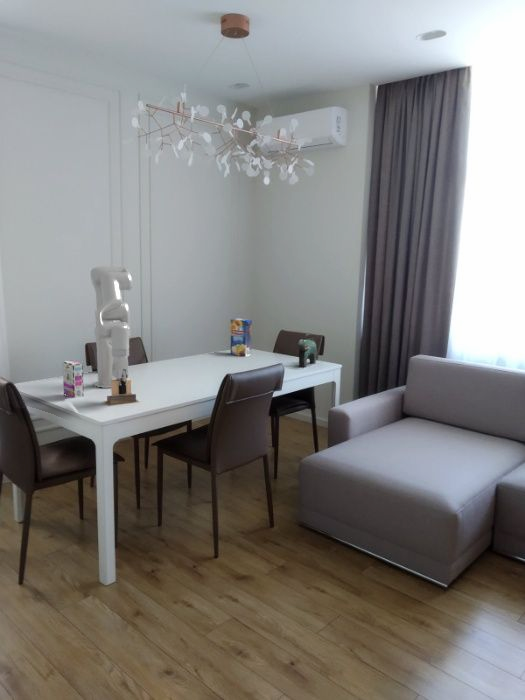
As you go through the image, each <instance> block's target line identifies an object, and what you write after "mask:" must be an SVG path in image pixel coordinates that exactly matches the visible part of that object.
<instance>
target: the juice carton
mask: <svg viewBox="0 0 525 700" xmlns="http://www.w3.org/2000/svg"><path fill="white" fill-rule="evenodd" d="M252 322H253V320H252V319H248V318H232V319H230V356H236V355H238V357H244V356H246V357H249V355H250V356H252V335H253V334H252V330H253V329H252V324H253V323H252Z"/></svg>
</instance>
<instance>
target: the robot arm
mask: <svg viewBox="0 0 525 700" xmlns="http://www.w3.org/2000/svg"><path fill="white" fill-rule="evenodd" d="M90 281H91V284H92V286H93V289H94V291H95V301H96V302H95V303H96V304H95V305H96V310H97V314H96V325H95V327H94V338H95V344H96V359H97V369H98V373H97V381H96V382H94V386H95V387H96V386H97V387H96V388H99V387H102V389H111V380H118V379H119V394H126V382H127V379H128V378H129V373H130V372H129V358H128V357H129V356H130V340H131V336H132V335H131V331H132V330H131V312H130V306H129V304H128V303H127V301H126V302H125V301H123V298H122V297H123V296H122V291H130V290H132V288H133V284H134V283H133V282H134V281H133V277H132V275H131V273H130V271H129V270H128V269H127V268H126V267H124V266H95V267H93V268H91V270H90ZM102 320H103V321H115V320H119V321H120V322H103V321H102ZM121 380H122V381H121Z"/></svg>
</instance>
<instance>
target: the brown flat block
mask: <svg viewBox="0 0 525 700" xmlns="http://www.w3.org/2000/svg"><path fill="white" fill-rule="evenodd" d="M103 403H104V404H106V406H109V407H110V406H112V407H113V406H120V405H126V404H127V405H128V404H134V403H135V404H136V403H140V401H139V400H138V399H137V394H136V393H132V392H131V395H122V396H114V397H112V395H107V396H106V400H104V401H103Z"/></svg>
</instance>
